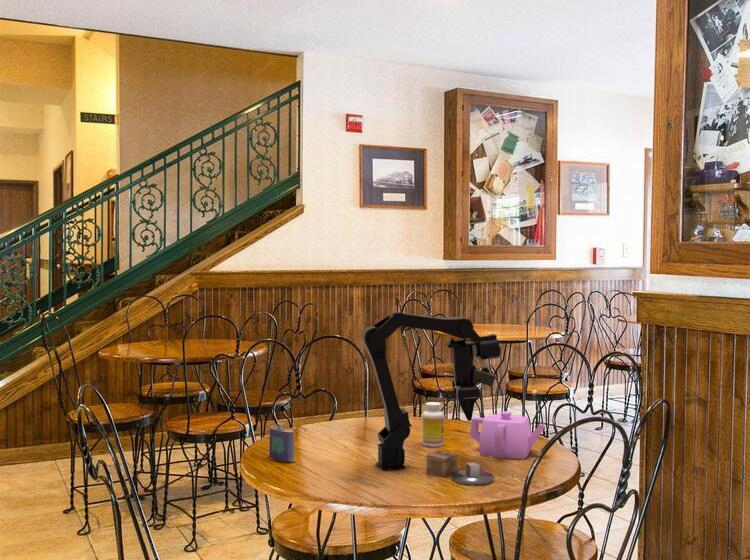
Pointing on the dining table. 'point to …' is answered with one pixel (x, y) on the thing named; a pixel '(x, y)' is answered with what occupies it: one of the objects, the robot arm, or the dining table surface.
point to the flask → (281, 443)
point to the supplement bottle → (433, 425)
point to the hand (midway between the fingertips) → (467, 416)
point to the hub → (472, 475)
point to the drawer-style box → (441, 463)
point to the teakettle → (505, 435)
